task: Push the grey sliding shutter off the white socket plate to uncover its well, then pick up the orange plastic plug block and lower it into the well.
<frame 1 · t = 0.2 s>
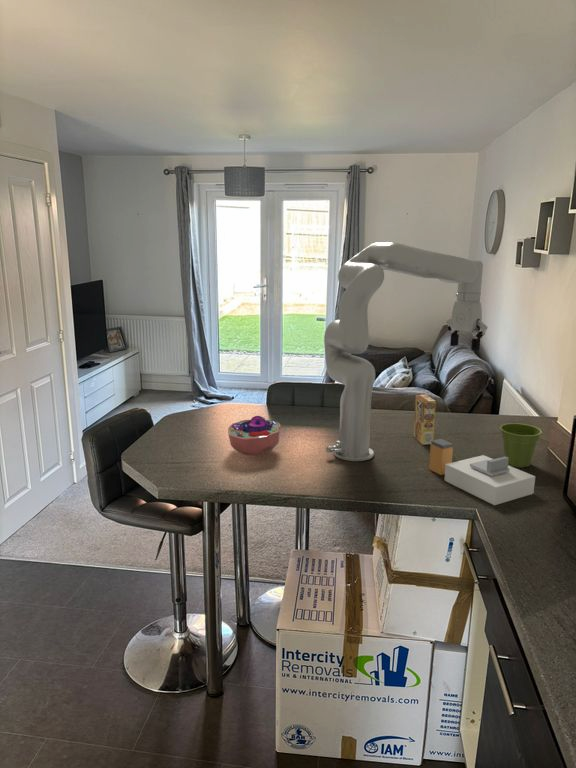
hand: (464, 347, 194), 31 cm above the table, fingers open, 9 cm apart
plant pot: (516, 464, 174), on the table
cell model: (254, 452, 182), on the table
candy box: (422, 441, 194), on the table
plug: (439, 470, 168), on the table
socket: (487, 486, 157), on the table
shutter: (490, 462, 155), point 7 cm above the table, slide at 0.0 cm
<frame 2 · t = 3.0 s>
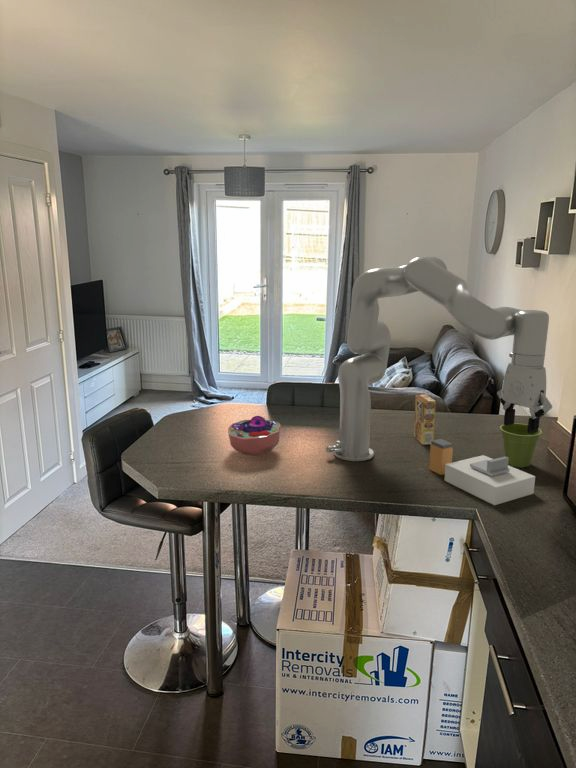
hand: (520, 427, 145), 20 cm above the table, fingers open, 6 cm apart
nothing on the table moved.
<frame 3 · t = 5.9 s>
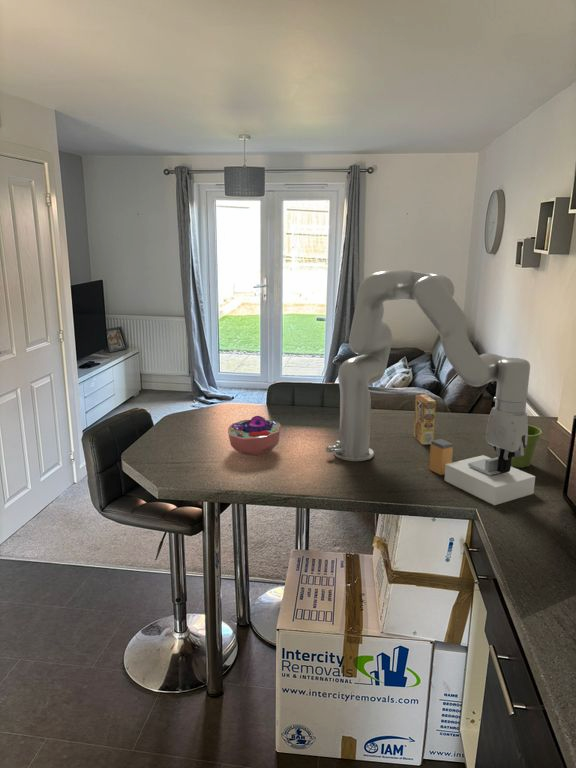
hand: (503, 471, 151), 6 cm above the table, fingers closed
shutter: (488, 461, 156), point 7 cm above the table, slide at 0.7 cm, touching gripper
everything else where it was.
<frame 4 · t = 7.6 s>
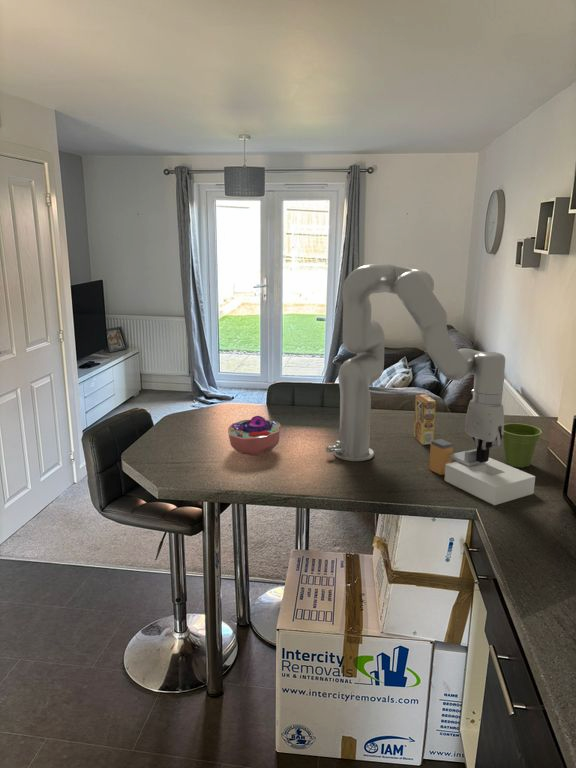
hand: (482, 461, 158), 7 cm above the table, fingers closed
shutter: (467, 453, 162), point 7 cm above the table, slide at 8.1 cm, touching gripper
everything else where it was.
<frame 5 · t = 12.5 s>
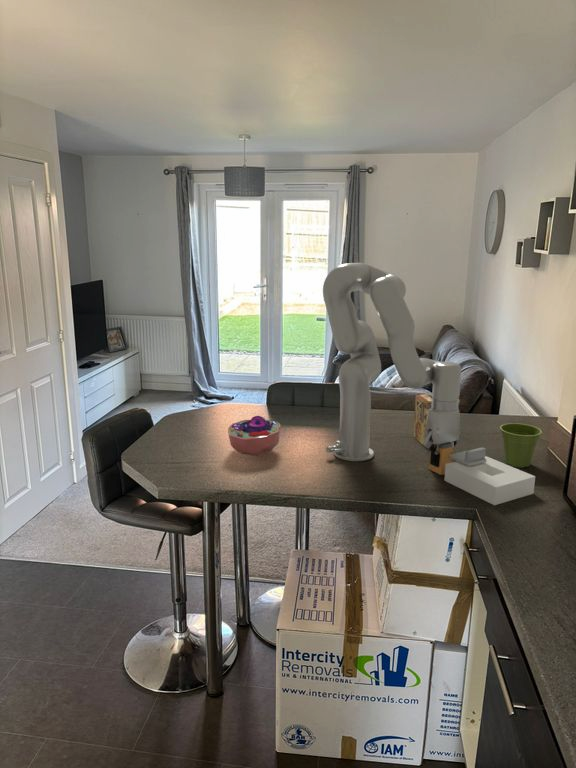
hand: (440, 463, 167), 2 cm above the table, fingers closed on plug, 4 cm apart
plug: (440, 470, 168), on the table, touching gripper
shutter: (468, 453, 162), point 7 cm above the table, slide at 8.0 cm
everything else where it was.
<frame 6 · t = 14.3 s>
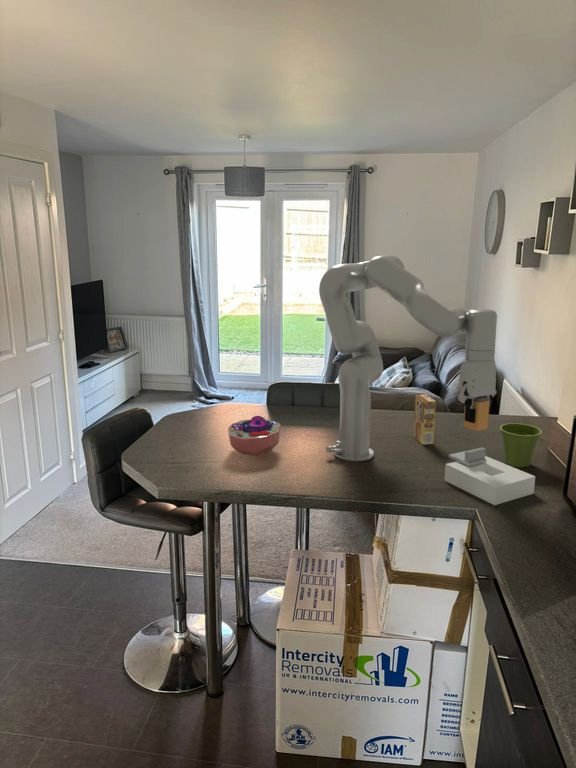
hand: (475, 419, 157), 18 cm above the table, fingers closed on plug, 4 cm apart
plug: (475, 427, 157), point 16 cm above the table, touching gripper
everything else where it was.
when the fingers open (6 cm above the table, at t = 16.5 s): plug drops 2 cm, resting on socket.
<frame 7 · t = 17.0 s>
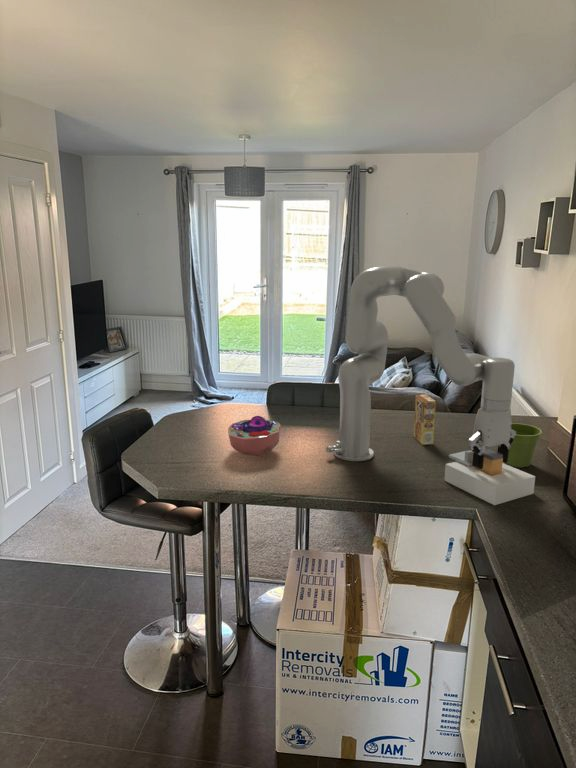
hand: (489, 464, 155), 7 cm above the table, fingers open, 9 cm apart
plug: (487, 483, 157), point 1 cm above the table, touching socket
everything else where it was.
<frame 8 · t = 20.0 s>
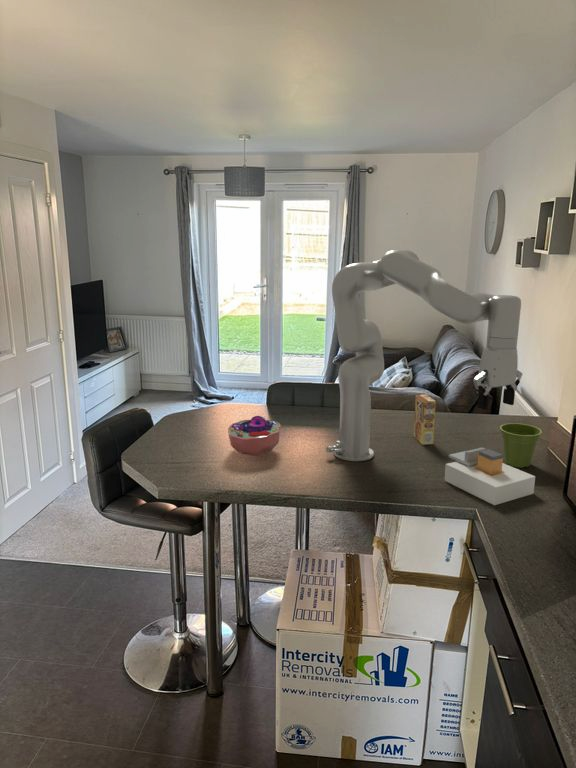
hand: (495, 406, 151), 23 cm above the table, fingers open, 9 cm apart
nothing on the table moved.
at the end: plug 0.0 cm off-centre on the socket, point 1.0 cm above the socket's base; shutter slide at 8.0 cm; plug tilted 0° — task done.
